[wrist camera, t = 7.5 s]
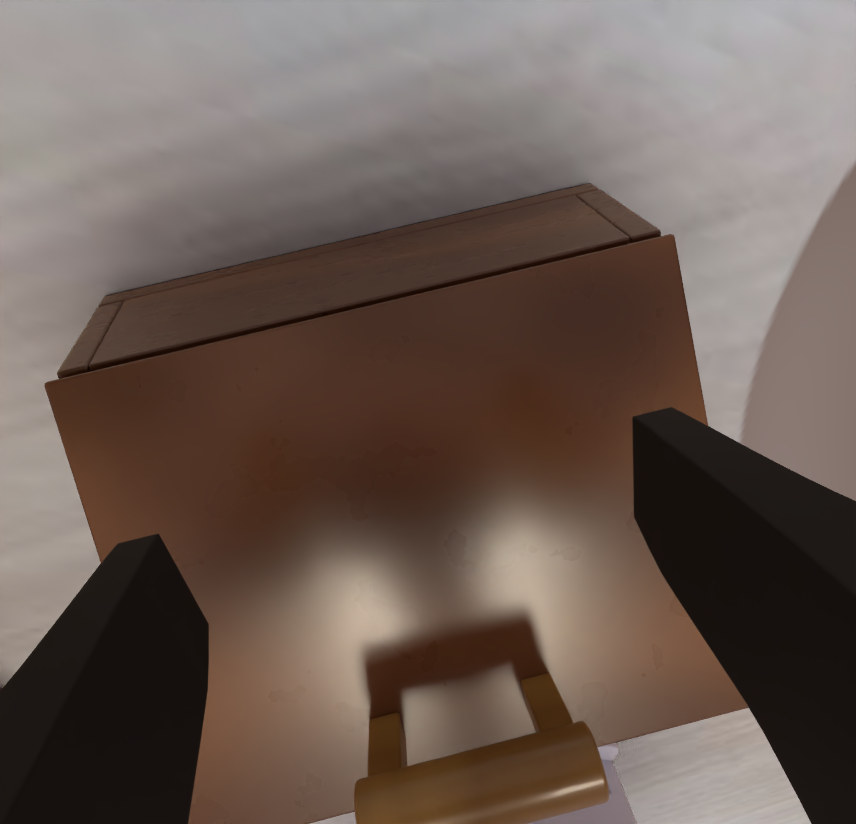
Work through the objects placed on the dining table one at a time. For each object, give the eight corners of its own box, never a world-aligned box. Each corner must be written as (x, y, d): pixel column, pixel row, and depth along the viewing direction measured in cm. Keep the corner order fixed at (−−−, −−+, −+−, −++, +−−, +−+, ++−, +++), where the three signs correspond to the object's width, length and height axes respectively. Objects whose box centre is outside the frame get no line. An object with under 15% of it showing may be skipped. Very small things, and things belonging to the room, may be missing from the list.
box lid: (746, 692, 16) (861, 809, 12) (199, 835, 16) (139, 1005, 12) (663, 236, 15) (766, 204, 11) (55, 380, 14) (-68, 402, 10)
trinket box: (604, 475, 24) (658, 561, 21) (235, 567, 24) (223, 672, 20) (591, 181, 18) (661, 229, 15) (103, 295, 18) (54, 373, 14)
